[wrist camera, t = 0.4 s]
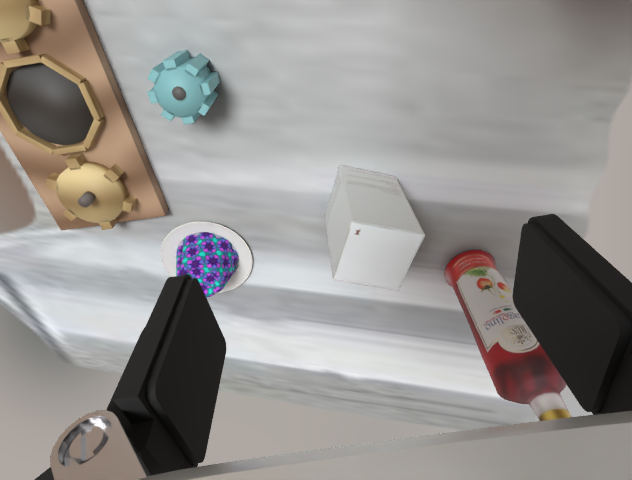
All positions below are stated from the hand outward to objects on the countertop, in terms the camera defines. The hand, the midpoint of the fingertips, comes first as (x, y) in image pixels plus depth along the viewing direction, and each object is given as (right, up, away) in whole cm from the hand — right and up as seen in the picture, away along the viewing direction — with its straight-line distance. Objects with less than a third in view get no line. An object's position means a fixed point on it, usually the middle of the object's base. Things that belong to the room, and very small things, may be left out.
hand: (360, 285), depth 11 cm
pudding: (-16, -1, +41) cm, 44 cm away
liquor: (+20, -2, +43) cm, 47 cm away
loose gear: (-14, +18, +28) cm, 36 cm away
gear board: (-28, +16, +29) cm, 43 cm away
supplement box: (+4, +7, +36) cm, 37 cm away
